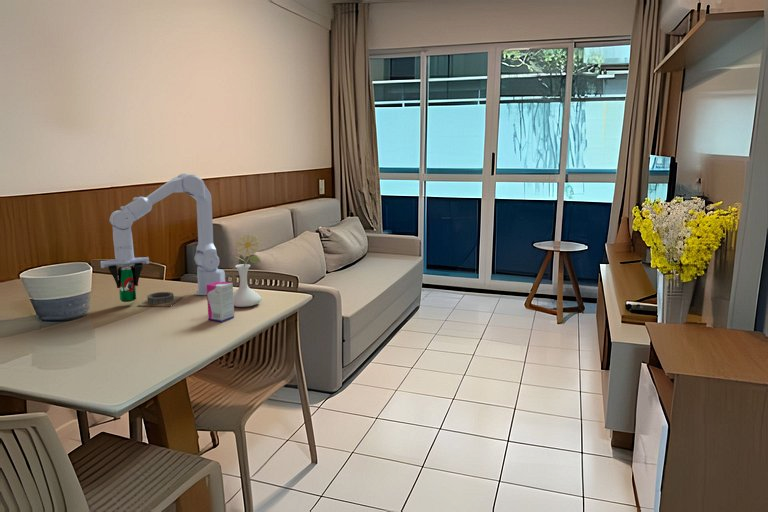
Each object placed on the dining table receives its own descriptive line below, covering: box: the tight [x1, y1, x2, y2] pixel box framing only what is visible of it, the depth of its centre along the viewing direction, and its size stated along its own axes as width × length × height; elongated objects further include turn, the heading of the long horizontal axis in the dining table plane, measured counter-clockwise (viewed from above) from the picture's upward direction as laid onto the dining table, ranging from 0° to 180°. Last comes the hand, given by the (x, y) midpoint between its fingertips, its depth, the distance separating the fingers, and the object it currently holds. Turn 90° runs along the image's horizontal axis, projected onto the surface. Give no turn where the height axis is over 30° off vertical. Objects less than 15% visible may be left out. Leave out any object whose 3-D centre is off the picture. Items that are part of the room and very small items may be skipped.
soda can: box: [117, 265, 137, 303], centre depth 177 cm, size 5×5×12 cm
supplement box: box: [206, 281, 235, 323], centre depth 165 cm, size 6×6×12 cm
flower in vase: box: [233, 233, 262, 308], centre depth 178 cm, size 13×11×25 cm
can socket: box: [137, 291, 184, 308], centre depth 183 cm, size 11×11×2 cm
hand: (127, 286), depth 177 cm, fingers closed on soda can, 5 cm apart
